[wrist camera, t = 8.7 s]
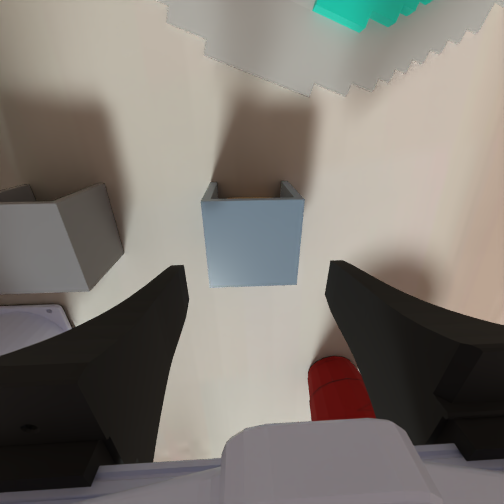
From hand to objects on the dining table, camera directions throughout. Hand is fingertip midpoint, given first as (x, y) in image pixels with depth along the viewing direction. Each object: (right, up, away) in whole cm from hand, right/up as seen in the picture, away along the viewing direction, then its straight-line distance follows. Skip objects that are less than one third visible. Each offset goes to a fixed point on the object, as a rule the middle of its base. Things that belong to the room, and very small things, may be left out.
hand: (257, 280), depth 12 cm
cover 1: (-15, +4, +8) cm, 17 cm away
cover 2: (-1, +4, +8) cm, 9 cm away
